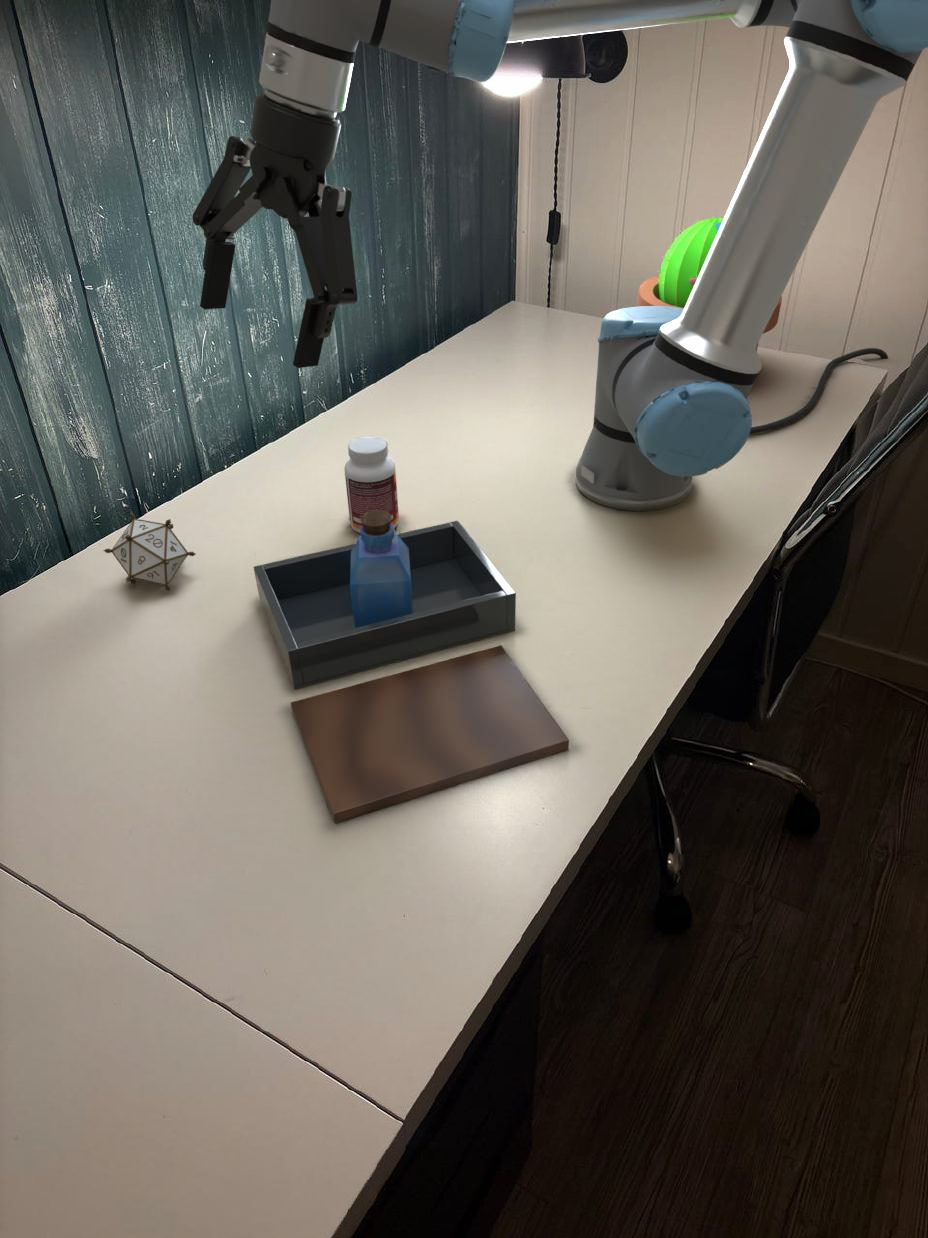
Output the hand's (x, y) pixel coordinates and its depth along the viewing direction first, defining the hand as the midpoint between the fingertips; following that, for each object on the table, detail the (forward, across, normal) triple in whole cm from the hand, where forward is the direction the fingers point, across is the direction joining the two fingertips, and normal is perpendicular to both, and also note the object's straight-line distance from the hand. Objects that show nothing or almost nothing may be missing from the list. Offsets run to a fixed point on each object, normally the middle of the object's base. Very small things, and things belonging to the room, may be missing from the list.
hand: (257, 335), depth 91 cm
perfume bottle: (+23, +21, +5) cm, 31 cm away
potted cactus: (+6, +17, +84) cm, 86 cm away
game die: (+31, -4, -5) cm, 32 cm away
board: (+22, +36, -6) cm, 43 cm away
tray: (+23, +21, +5) cm, 32 cm away
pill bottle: (+23, +7, +19) cm, 31 cm away
